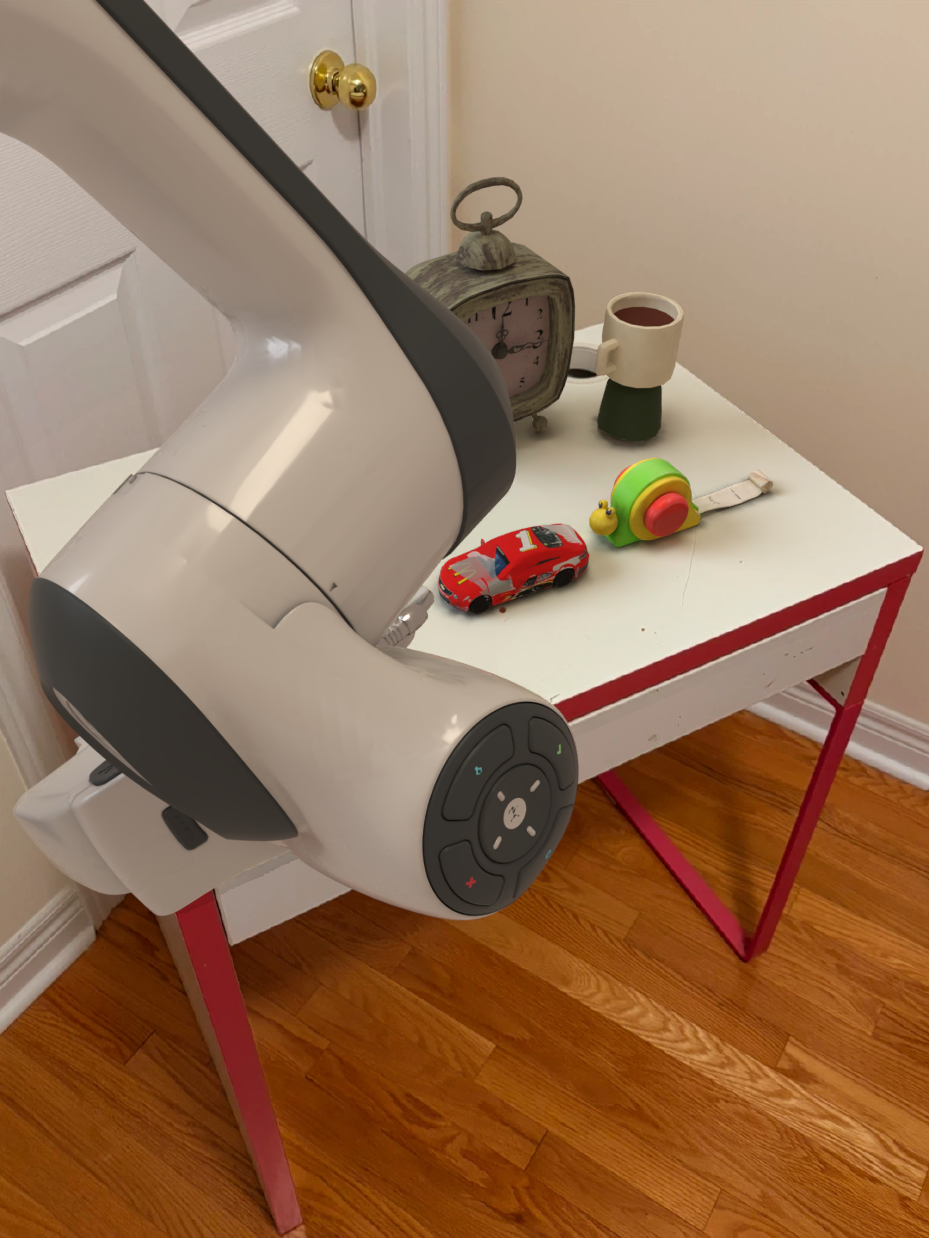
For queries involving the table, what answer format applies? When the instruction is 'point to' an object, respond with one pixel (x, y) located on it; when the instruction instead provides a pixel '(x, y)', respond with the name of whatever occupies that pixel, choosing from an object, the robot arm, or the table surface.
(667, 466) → the toy measuring tape
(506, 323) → the tabletop clock
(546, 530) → the race car
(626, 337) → the cream coffee mug
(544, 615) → the table surface
